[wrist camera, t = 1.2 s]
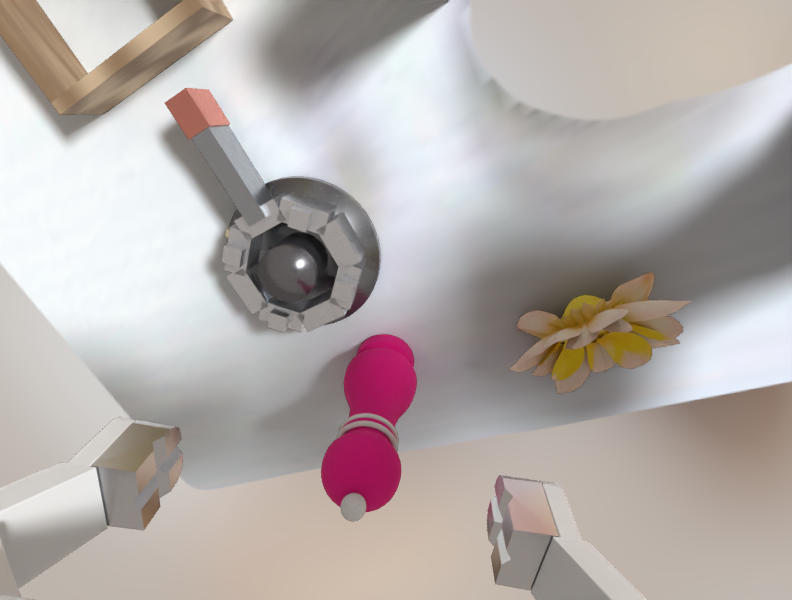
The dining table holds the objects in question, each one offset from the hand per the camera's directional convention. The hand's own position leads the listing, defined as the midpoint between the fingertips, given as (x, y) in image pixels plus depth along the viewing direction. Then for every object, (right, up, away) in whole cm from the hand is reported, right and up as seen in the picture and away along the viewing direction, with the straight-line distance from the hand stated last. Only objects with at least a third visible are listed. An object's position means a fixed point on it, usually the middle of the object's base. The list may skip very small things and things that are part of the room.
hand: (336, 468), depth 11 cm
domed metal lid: (-7, +9, +32) cm, 34 cm away
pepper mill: (0, -2, +36) cm, 36 cm away
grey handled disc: (-10, +12, +29) cm, 33 cm away
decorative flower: (+20, +2, +33) cm, 38 cm away
